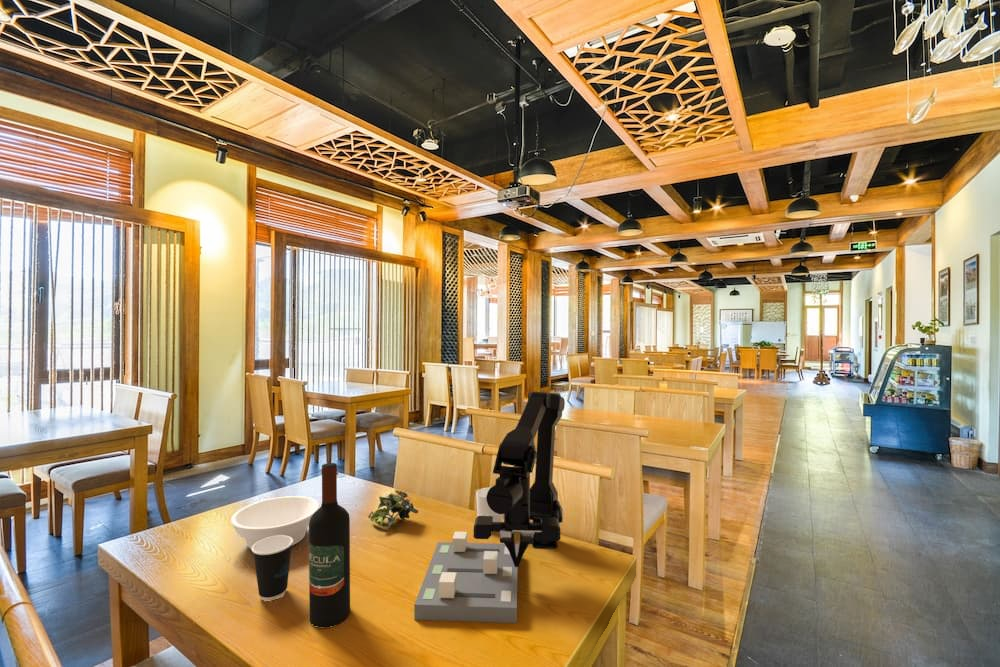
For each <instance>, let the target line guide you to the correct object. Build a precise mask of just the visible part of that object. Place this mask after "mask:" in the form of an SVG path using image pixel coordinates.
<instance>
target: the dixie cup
mask: <svg viewBox="0 0 1000 667" xmlns="http://www.w3.org/2000/svg"><path fill="white" fill-rule="evenodd" d="M292 544H293V539H292V538H291V537H290V536H285V535H277V536H271V537H267V538H264V539H262V540H260V541H258V542H256V543H255V544H254V545H253V546H252V549H250V550H251V552H252V553H253V559H254V567H255V569H254V570H255V576H256V582H257V590H258V595H259V596H260V600H261V599H263V600H267V601H268V600H273V599H276V598H278V597H281V596H282V595H283V594H284V593H285V592H287V589H288V583H289V573H290V563H291V557H292V556H291V554H292V547H293V545H292ZM285 594H286V593H285ZM281 598H282V597H281Z"/></svg>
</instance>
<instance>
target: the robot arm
mask: <svg viewBox="0 0 1000 667" xmlns="http://www.w3.org/2000/svg"><path fill="white" fill-rule="evenodd" d="M524 406H525V407H524V409H523V412H522V413H521V416H520V418H519V420H518V422H517V425H516V427H515V428H514V429H512V430H511V431H509V432H508V433H506V435H505V437H504V438H503V440H502V441H501V442H500V444H499V445H498V450H497V454H496V458H495V461H494V466H493V470H492V474H495V475H499V477H497V478H496V479H495V484H493V486H491V488H490V489H489V491H488V493H487V496H486V499H487V503H488V506H489V507H490V509H491V510H492V511H494V512H495V513H498V514H503V521H502V522H493V516H478V517H477V516H476V517H475V520H474V524H473V538H474V539H475V540H489V538H490V537H492V533H499V542H500V543H499V544H505V545H506V547H507V549H508V551H509V553H510V555H511V558H512V560H513V563H514V566H515V567H518V568H519V567H520V564H521V561H522V558H523V556H524V554H525V553H526V552H525V551H526V550H527V549H528V547H529V545H531V546H532V547H533V548H549V547H555V549H556V547H557V548H558V541H560V540H561V526H560V523H563V515H564V514H563V507H562V505H561V503H560V501H559V497H558V496H559V493H558V489H557V488H556V486H555V485H554V482H553V476H554V457H555V438H556V437H555V436H556V426H557V424H559V422H560V420H561V418H562V417H563V411H564V410H565V406H566V405H565V398H564V396H562V395H561V393H560V392H547V391H536V390H535V391H530V392H528V395H527V402H526V404H525V405H524ZM536 435H537V441H536V442H537V443H536V444H535V438H536ZM507 465H508V466H507ZM534 468H535V474H534V475H535V476H534V482H533V484H532V485H531V473H533V471H534ZM492 531H493V532H492ZM515 533H519V537H518V538H519V539H518V553H517V555H516V547H515V544H516V541H515Z"/></svg>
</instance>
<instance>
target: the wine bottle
mask: <svg viewBox="0 0 1000 667" xmlns="http://www.w3.org/2000/svg"><path fill="white" fill-rule="evenodd" d="M320 471H321V472H320V473H321V474H320V475H321V505H320V506H319V509H318V510H317V511H316V512H315V513H314V514H313V515H312V517H311V518H310V522H309V526H308V573H309V574H308V577H309V579H308V580H309V581H308V584H309V585H308V587H309V589H308V590H309V592H308V593H309V596H308V597H309V598H308V599H309V607H308V609H309V610H308V611H309V623H310V622H311V623H310V625H311V624H313V625H314V626H318V627H329V628H331V627H330V626H334V625H336V626H339V625H340V624H341V622H342V623H343V622H345V621H346V620H347V619H348V618H349V616H350V615H351V548H350V547H351V544H350V543H351V538H350V537H351V536H350V535H351V534H350V533H351V531H350V528H351V525H350V522H351V521H350V514H349V512H348V511H347V510H346V509H345V507H343V506H341V505H340V504H338V500H337V498H338V492H337V491H338V490H337V489H338V488H337V487H338V479H337V476H338V466H337V463H335V462H327V463H323V464H321V470H320ZM313 625H312V626H313ZM314 626H313V627H314ZM334 627H335V626H334Z"/></svg>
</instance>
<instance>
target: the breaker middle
mask: <svg viewBox="0 0 1000 667" xmlns="http://www.w3.org/2000/svg"><path fill="white" fill-rule="evenodd" d="M497 569H498V551H484V558H483V574H497Z"/></svg>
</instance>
